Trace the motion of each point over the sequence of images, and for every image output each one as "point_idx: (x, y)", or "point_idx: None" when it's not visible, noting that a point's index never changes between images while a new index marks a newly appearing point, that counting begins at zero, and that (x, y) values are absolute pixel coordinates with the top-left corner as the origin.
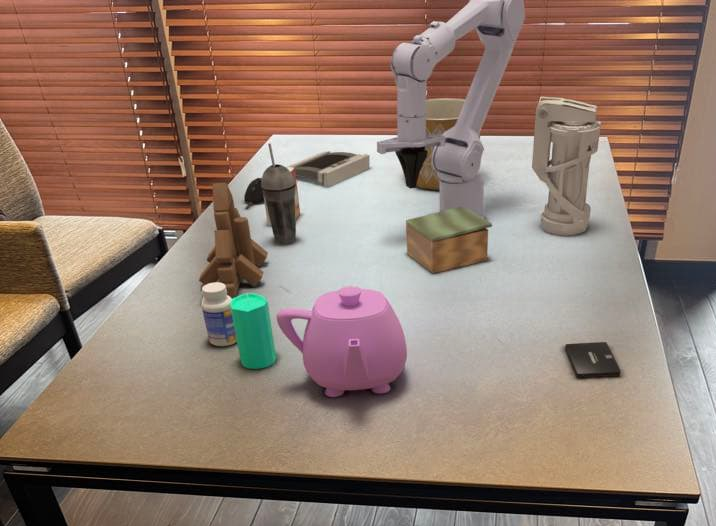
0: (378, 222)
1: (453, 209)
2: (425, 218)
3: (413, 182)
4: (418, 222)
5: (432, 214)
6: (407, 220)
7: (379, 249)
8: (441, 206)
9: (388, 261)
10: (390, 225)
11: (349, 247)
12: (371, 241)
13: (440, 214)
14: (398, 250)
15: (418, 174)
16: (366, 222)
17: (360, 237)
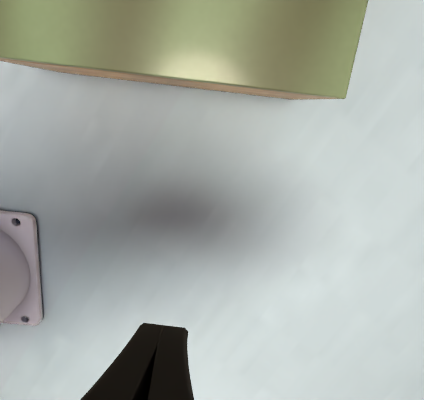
0: (210, 371)
1: (11, 42)
2: (243, 33)
3: (159, 350)
4: (316, 4)
5: (170, 63)
6: (343, 86)
7: (339, 196)
8: (1, 301)
9: (387, 81)
10: (193, 335)
11: (399, 266)
12: (316, 267)
13: (129, 22)
14: (295, 148)
15: (94, 393)
16: (239, 388)
17: (322, 311)
